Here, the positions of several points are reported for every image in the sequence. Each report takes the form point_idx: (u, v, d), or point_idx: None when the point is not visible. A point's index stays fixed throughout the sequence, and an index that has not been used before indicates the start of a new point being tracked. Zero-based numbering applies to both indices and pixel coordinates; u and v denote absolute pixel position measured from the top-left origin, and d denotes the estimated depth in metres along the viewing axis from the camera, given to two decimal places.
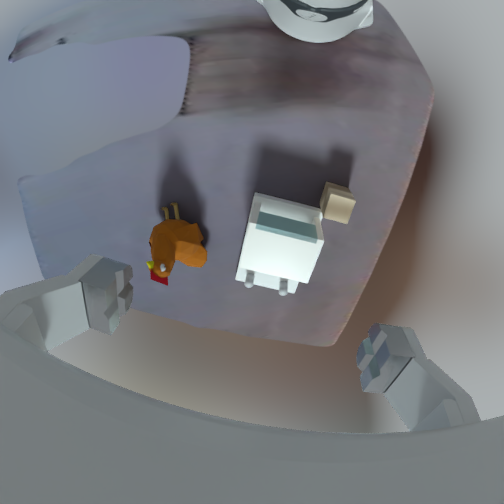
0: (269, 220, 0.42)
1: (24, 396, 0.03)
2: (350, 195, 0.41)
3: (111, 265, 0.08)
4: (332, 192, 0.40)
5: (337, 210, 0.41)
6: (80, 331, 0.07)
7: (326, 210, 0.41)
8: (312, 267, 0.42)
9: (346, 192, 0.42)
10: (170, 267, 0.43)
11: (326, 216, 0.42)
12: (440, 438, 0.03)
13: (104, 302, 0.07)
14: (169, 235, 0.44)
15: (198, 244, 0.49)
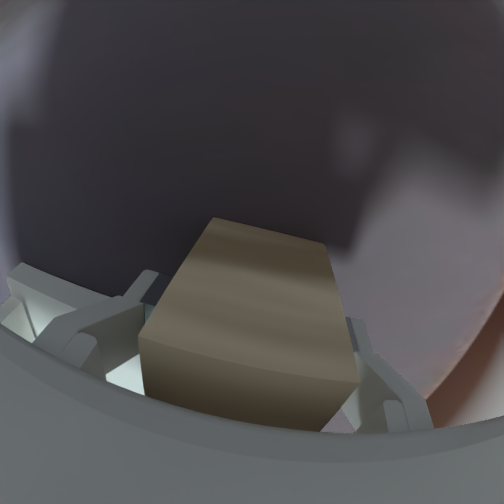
0: None
1: (24, 396, 0.03)
2: (326, 316, 0.06)
3: None
4: (167, 315, 0.05)
5: None
6: (136, 353, 0.07)
7: None
8: None
9: (305, 282, 0.07)
10: None
11: None
12: (440, 438, 0.03)
13: None
14: None
15: None
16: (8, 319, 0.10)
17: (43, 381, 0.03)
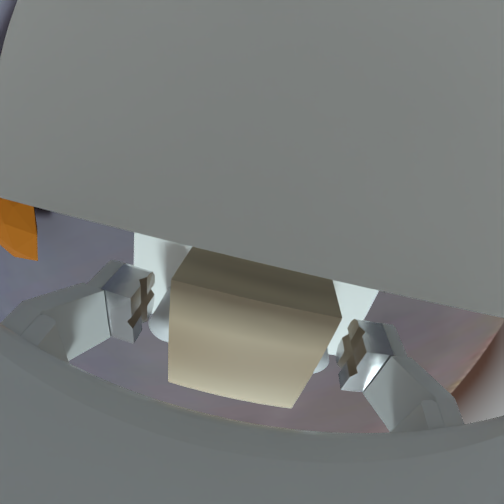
0: None
1: (24, 396, 0.03)
2: None
3: (134, 272, 0.08)
4: (192, 266, 0.07)
5: (229, 364, 0.07)
6: (101, 340, 0.07)
7: (174, 359, 0.07)
8: None
9: None
10: None
11: (185, 382, 0.08)
12: (440, 438, 0.03)
13: (129, 311, 0.07)
14: None
15: None
16: None
17: (43, 381, 0.03)
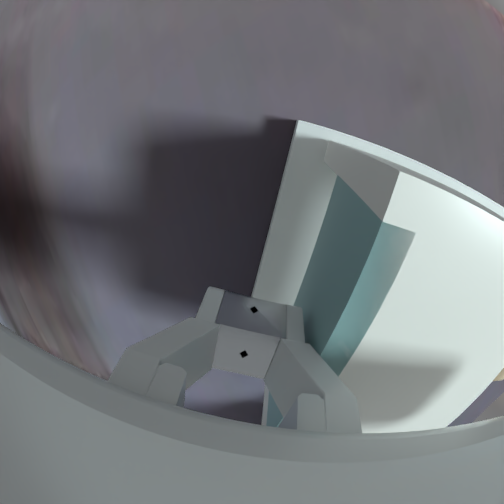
0: None
1: (24, 396, 0.03)
2: None
3: (240, 300, 0.08)
4: None
5: None
6: (203, 373, 0.07)
7: None
8: None
9: None
10: None
11: None
12: (440, 438, 0.03)
13: (245, 343, 0.07)
14: None
15: None
16: None
17: (43, 381, 0.03)
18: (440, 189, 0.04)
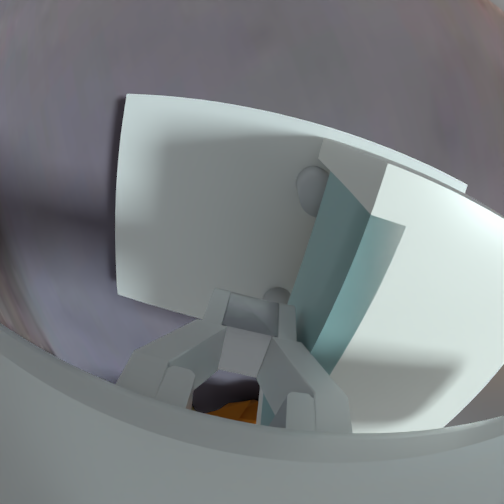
0: None
1: (24, 396, 0.03)
2: None
3: (247, 302, 0.08)
4: None
5: None
6: (210, 375, 0.07)
7: None
8: None
9: None
10: None
11: None
12: (440, 438, 0.03)
13: (252, 344, 0.07)
14: None
15: None
16: None
17: (43, 381, 0.03)
18: (430, 181, 0.04)
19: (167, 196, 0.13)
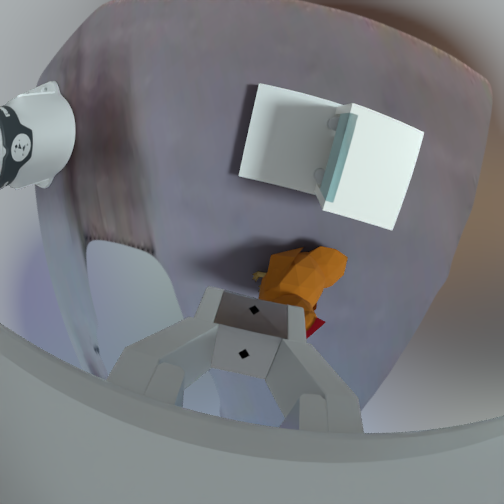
0: (327, 179, 0.28)
1: (24, 396, 0.03)
2: None
3: (239, 300, 0.08)
4: None
5: None
6: (202, 373, 0.07)
7: None
8: (397, 122, 0.22)
9: None
10: None
11: None
12: (440, 438, 0.03)
13: (244, 343, 0.07)
14: (269, 296, 0.33)
15: (303, 257, 0.35)
16: (319, 187, 0.32)
17: (43, 381, 0.03)
18: (362, 106, 0.22)
19: (275, 126, 0.31)
